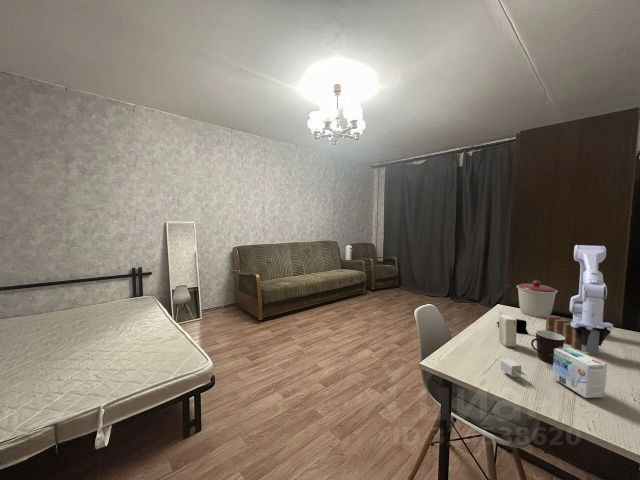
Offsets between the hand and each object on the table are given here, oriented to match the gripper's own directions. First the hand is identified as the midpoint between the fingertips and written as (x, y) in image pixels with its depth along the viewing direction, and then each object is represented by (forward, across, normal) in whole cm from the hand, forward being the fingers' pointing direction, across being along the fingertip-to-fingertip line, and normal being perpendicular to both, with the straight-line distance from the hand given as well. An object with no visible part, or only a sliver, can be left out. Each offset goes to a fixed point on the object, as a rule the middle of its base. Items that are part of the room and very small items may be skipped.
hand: (590, 344), depth 102 cm
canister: (+4, +12, +44) cm, 46 cm away
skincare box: (+4, -29, +7) cm, 30 cm away
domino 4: (+4, 0, +4) cm, 6 cm away
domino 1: (+4, 0, +18) cm, 18 cm away
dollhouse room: (+4, -15, +24) cm, 29 cm away
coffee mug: (+4, -22, -5) cm, 23 cm away
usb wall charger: (+4, -42, -18) cm, 46 cm away
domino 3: (+4, 0, +9) cm, 10 cm away
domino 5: (+3, 0, 0) cm, 3 cm away
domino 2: (+4, 0, +13) cm, 14 cm away
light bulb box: (+4, -26, -23) cm, 35 cm away
